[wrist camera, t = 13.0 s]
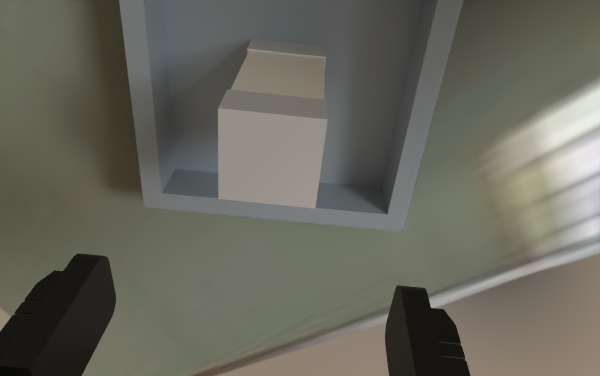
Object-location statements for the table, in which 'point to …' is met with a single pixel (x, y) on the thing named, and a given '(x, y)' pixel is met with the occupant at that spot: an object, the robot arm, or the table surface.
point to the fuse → (274, 126)
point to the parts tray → (337, 91)
